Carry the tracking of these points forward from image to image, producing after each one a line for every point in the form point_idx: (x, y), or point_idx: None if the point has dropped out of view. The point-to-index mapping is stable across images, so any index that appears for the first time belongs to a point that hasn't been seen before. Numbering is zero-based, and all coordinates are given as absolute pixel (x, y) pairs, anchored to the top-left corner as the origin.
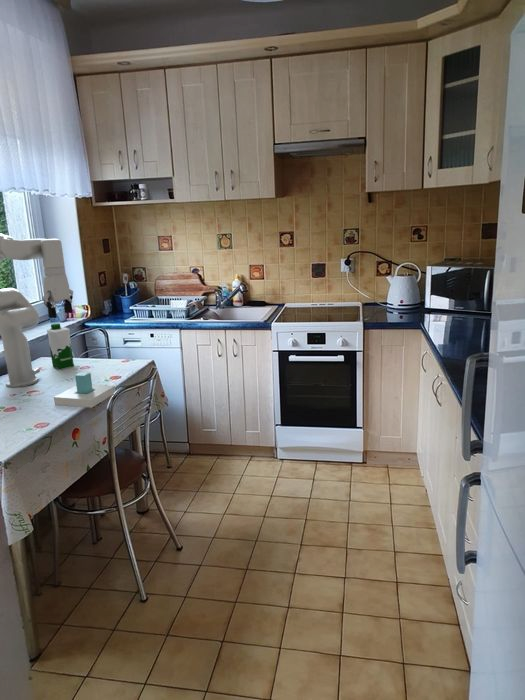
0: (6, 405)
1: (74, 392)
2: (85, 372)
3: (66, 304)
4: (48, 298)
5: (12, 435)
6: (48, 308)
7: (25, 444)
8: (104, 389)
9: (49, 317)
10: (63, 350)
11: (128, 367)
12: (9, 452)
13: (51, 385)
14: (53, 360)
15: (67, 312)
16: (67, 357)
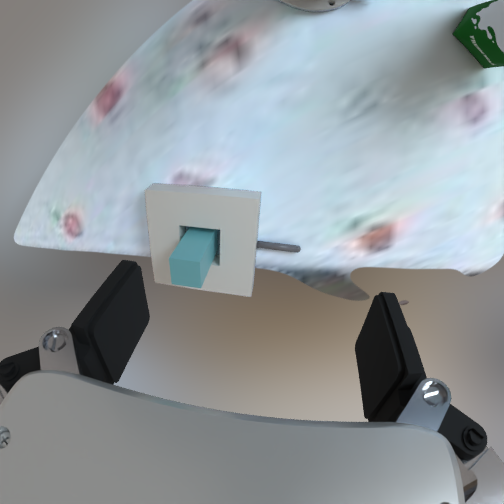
0: (126, 63)
1: (185, 224)
2: (198, 275)
3: (381, 388)
4: (59, 427)
5: (36, 204)
6: (67, 336)
7: (32, 243)
8: (221, 284)
9: (125, 263)
10: (496, 47)
11: (460, 236)
12: (16, 237)
13: (300, 72)
14: (471, 11)
15: (368, 318)
16: (487, 56)
